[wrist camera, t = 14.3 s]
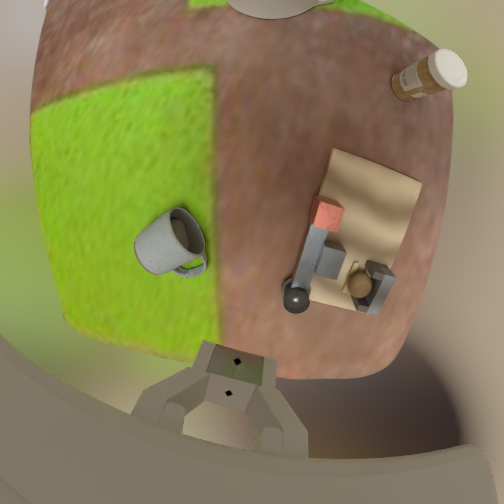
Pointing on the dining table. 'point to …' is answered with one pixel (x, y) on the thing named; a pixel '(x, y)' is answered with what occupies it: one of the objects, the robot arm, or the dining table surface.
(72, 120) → the dining table surface
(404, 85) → the sprinkles bottle
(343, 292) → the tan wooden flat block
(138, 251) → the ceramic mug
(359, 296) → the brown ball
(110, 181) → the dining table surface
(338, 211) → the lever
